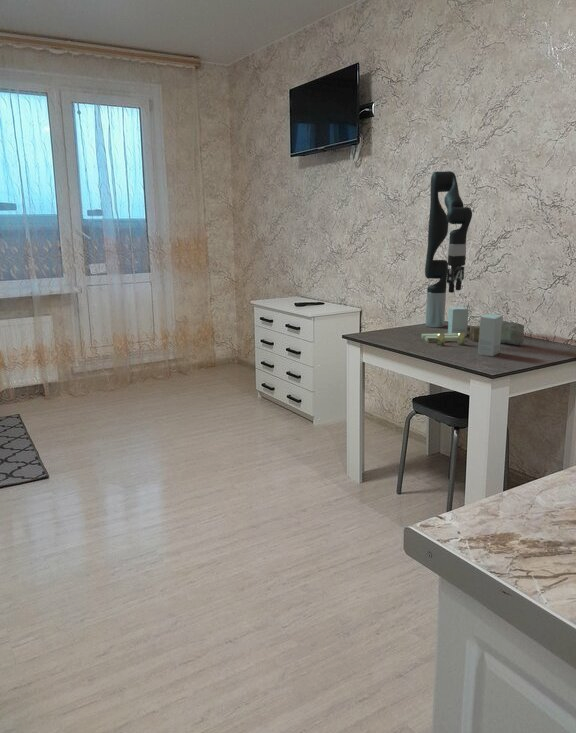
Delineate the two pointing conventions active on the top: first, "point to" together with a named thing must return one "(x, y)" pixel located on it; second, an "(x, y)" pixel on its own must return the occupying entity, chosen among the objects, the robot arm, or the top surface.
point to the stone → (512, 333)
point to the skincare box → (490, 335)
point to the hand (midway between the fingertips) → (454, 291)
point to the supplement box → (458, 320)
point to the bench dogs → (442, 336)
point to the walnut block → (474, 333)
